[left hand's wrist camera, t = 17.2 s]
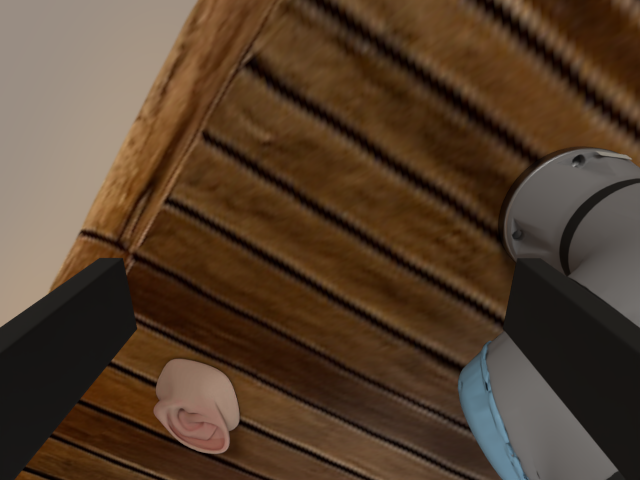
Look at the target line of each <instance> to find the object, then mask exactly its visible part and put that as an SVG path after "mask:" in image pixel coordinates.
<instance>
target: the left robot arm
mask: <svg viewBox="0 0 640 480" xmlns="http://www.w3.org/2000/svg"><path fill="white" fill-rule="evenodd" d="M629 159H631V158H630V157H628V156H627V155H622V154H618V153H616V152H613V151H610V150H605V149H599V148H593V147H571V148H566V149H562V150H559V151H556V152H553V153H551V154H549V155H547V156H545V157H543V158H541V159H539V160H538V161H536V162H535V163H534V164H532V165H531V166H530V167H528V168H527V169H526V170H525V171H524V172H523V173H522V174H521V175H520V176H519V177H518V178H517V180H516V181H515V182H514V183H513V185H512V186H511V188H510V189H509V191H508V193H507V195H506V197H505V199H504V202H503V204H502V208H501V211H500V217H499V233H500V238H501V241H502V244H503V246H504V248H505V250H506V252H507V253H508V255H509V256H510V257H511V258H512V259H513V260H514V261H515V262H516V267H515V271H514V276H513V281H512V286H511V291H510V296H509V301H508V306H507V311H506V316H505V321H504V326H503V330H504V331H503V332H502V333H501V334H500V335H499V336H498V337H496V338H495V339H494V340H493V341H489V342H487V343H486V344H485V345H484V346H483V349H482V351H481V352H480V353H479V354H478V355H477V356H475V357H474V358H473V359H472V360H471V361H470V362H469V363H468V364H467V365H466V366H465V367H464V368H463V370H462V372H461V373H460V376H459V380H458V391H459V398H460V403H461V406H462V410H463V413H464V415H465V418H466V420H467V422H468V425H469V427H470V429H471V431H472V433H473V435H474V437H475V439H476V441H477V442H478V444H479V446H480V448H481V449H482V451H483V453H484V454H485V456H486V457H487V459H488V461H489V462H490V464H491V465H492V466H493V468H494V469H495V471H496V472H497V473H498V475H499V476H500V477H501V479H502V480H640V168H639V167H638V166H637V165H635V164H634V163H633V162H631V161H630V160H629ZM136 330H137V326H136V321H135V316H134V311H133V306H132V301H131V296H130V291H129V286H128V281H127V276H126V271H125V267H124V262H123V258H99V259H98V260H96V261H95V262H93V263H92V264H91V265H89V266H88V267H86V268H85V269H83V270H82V271H81V272H79V273H78V274H76V275H75V276H73V277H72V278H70V279H69V280H68V281H66V282H65V283H63V284H62V285H60V286H59V287H58V288H56V289H55V290H53V291H52V292H50V293H49V294H48V295H46V296H45V297H43V298H42V299H40V300H39V301H38V302H36V303H35V304H33V305H32V306H30V307H29V308H28V309H26V310H25V311H23V312H22V313H20V314H19V315H18V316H16V317H15V318H13V319H12V320H10V321H9V322H8V323H6V324H5V325H3V326H2V327H0V480H14V479H15V478H16V477H17V476H18V474H19V473H20V472H21V471H22V470H23V468H24V467H25V466H26V465H27V463H28V462H29V461H30V460H31V458H32V457H33V456H34V455H35V454H36V452H37V451H38V450H39V449H40V447H41V446H42V445H43V444H44V443H45V441H46V440H47V439H48V438H49V436H50V435H51V434H52V433H53V431H54V430H55V429H56V428H57V427H58V425H59V424H60V423H61V422H62V420H63V419H64V418H65V417H66V415H67V414H68V413H69V412H70V411H71V409H72V408H73V407H74V406H75V404H76V403H77V402H78V401H79V400H80V398H81V397H82V396H83V395H84V393H85V392H86V391H87V390H88V388H89V387H90V386H91V385H92V384H93V382H94V381H95V380H96V379H97V377H98V376H99V375H100V374H101V373H102V371H103V370H104V369H105V368H106V366H107V365H108V364H109V363H110V361H111V360H112V359H113V358H114V357H115V355H116V354H117V353H118V352H119V350H120V349H121V348H122V347H123V346H124V344H125V343H126V342H127V341H128V339H129V338H130V337H131V336H132V334H133V333H134V332H135V331H136Z"/></svg>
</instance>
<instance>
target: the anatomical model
mask: <svg viewBox="0 0 640 480" xmlns="http://www.w3.org/2000/svg"><path fill="white" fill-rule="evenodd" d="M156 394H157V397H158V398H159V400H160V401H159V402H158V403H157V404H156V405H155V407H154V414H155V416H156V417H157V418H158V419H159V421H160V422H161V423H162V424H163V425H164V426H165V428H166V429H167V430H168V431H169V432H170V433H171V434H172V435H173V436H174V437H175V438H176V439H177V440H178V441H180V442H181V443H182V444H184V445H186V446H188V447H190V448H192V449H195V450H197V451H200V452H204V453H211V454H217V453H222V452H225V451H226V450H227V449H228V447H229V443H230V436H229V431H231V430H233V429H234V428H235V427H237V425H238V423H239V407H238V402H237V398H236V394H235V391H234V389H233V386H232V384H231V382H230V380H229V379H228V377H227V376H226V375H225V374H224V373H222V372H221V371H219V370H218V369H216V368H213V367H211V366H209V365H206V364H203V363H199V362H196V361H191V360H186V359H173V360H171V361H169V362H168V363H167V364H166V366H165V367H164V369H163V371H162V373H161V375H160V377H159V379H158V382H157V386H156Z"/></svg>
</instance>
